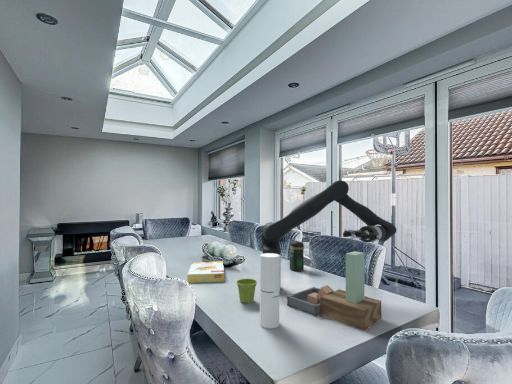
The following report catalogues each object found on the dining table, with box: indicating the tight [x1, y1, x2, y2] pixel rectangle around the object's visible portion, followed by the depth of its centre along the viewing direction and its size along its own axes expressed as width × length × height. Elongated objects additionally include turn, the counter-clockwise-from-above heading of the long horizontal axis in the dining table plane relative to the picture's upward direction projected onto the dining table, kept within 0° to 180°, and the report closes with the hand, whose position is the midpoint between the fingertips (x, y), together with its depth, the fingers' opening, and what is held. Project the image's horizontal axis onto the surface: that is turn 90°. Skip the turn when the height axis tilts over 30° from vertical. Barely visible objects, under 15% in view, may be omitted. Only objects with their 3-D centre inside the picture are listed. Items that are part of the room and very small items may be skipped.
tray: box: [286, 286, 321, 317], centre depth 121 cm, size 19×15×4 cm
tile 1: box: [307, 293, 320, 305], centre depth 120 cm, size 5×5×4 cm
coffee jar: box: [289, 240, 305, 272], centre depth 180 cm, size 10×8×19 cm
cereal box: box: [186, 261, 225, 284], centre depth 166 cm, size 20×6×28 cm
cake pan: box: [200, 254, 214, 262], centre depth 198 cm, size 25×25×4 cm
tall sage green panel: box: [345, 251, 365, 304], centre depth 108 cm, size 7×4×18 cm, turn 133°
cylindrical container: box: [259, 253, 281, 329], centre depth 102 cm, size 7×7×25 cm
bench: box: [319, 288, 382, 332], centre depth 109 cm, size 14×18×7 cm
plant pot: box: [235, 278, 258, 304], centre depth 125 cm, size 9×9×9 cm
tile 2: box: [316, 284, 335, 300], centre depth 117 cm, size 5×5×4 cm
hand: (352, 235), depth 121 cm, fingers open, 8 cm apart
